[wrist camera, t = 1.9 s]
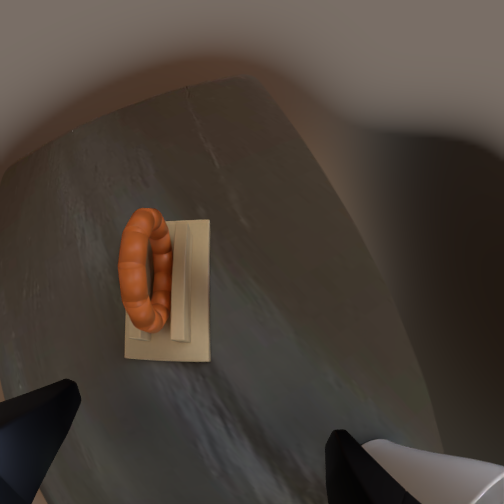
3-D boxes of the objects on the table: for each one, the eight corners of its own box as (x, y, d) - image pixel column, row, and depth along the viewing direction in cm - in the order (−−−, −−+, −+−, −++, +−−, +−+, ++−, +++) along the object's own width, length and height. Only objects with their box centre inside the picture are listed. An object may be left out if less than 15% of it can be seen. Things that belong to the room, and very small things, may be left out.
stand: (211, 361, 21) (205, 362, 17) (128, 358, 20) (110, 356, 17) (210, 224, 25) (206, 203, 22) (138, 227, 25) (125, 208, 21)
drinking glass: (323, 455, 18) (419, 544, 4) (390, 416, 19) (524, 440, 5) (346, 504, 15) (429, 589, 1) (408, 467, 16) (519, 509, 3)
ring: (174, 337, 20) (135, 323, 12) (155, 337, 20) (108, 322, 12) (177, 239, 23) (151, 182, 16) (160, 240, 23) (127, 184, 15)
